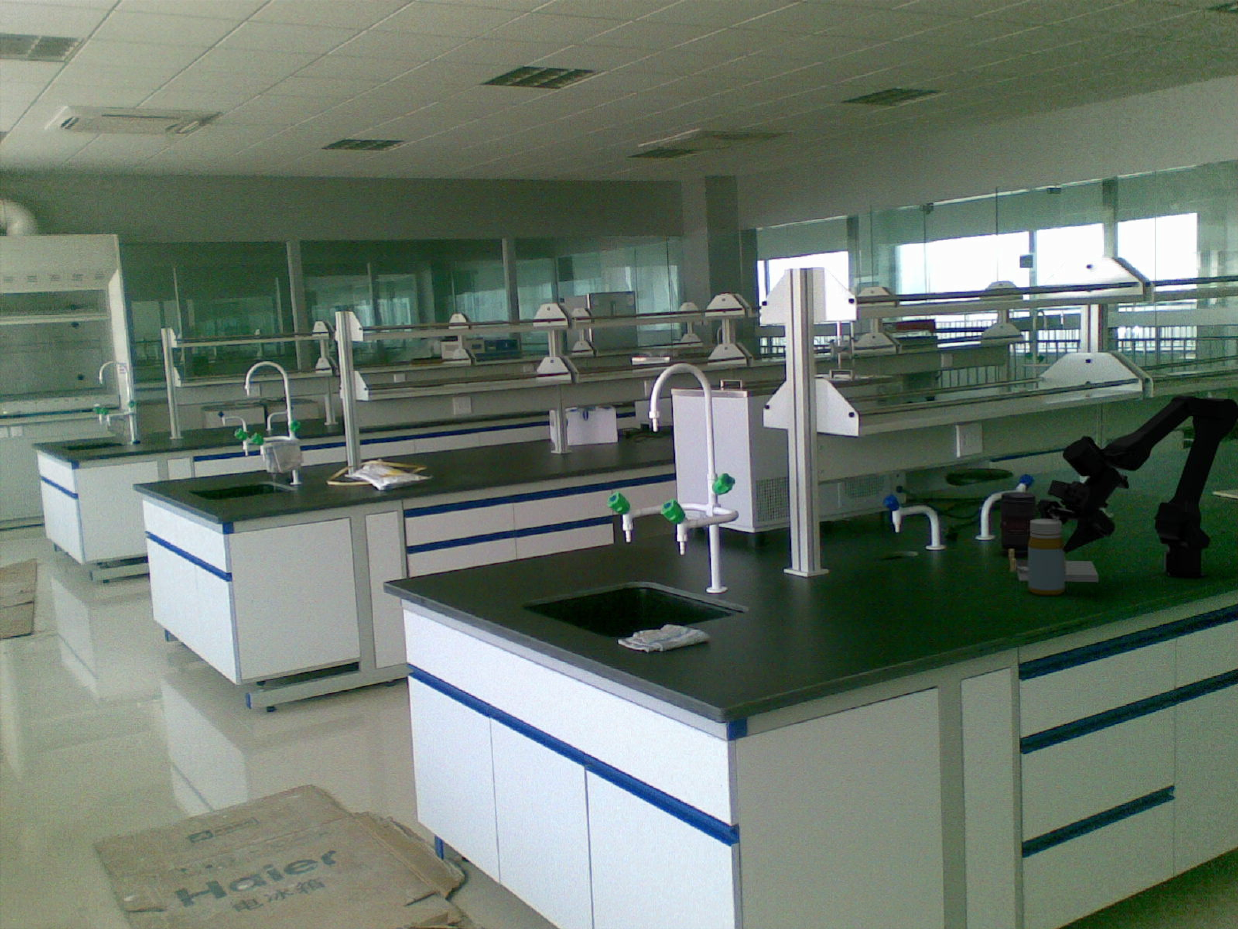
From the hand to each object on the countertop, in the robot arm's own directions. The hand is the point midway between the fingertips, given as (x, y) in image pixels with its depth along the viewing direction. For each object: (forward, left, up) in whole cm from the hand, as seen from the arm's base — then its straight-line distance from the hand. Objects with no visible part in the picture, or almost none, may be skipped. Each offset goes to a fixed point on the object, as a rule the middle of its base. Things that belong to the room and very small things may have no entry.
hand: (1050, 547), depth 225 cm
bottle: (+1, +1, -9) cm, 10 cm away
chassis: (-2, -16, -9) cm, 19 cm away
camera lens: (+5, -36, -9) cm, 38 cm away
